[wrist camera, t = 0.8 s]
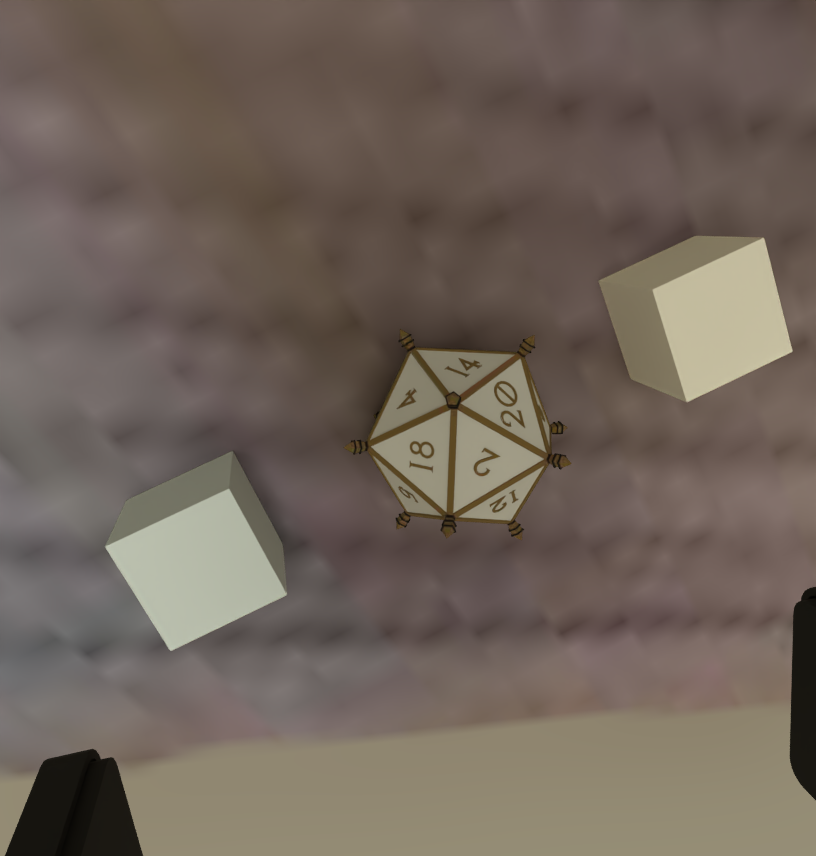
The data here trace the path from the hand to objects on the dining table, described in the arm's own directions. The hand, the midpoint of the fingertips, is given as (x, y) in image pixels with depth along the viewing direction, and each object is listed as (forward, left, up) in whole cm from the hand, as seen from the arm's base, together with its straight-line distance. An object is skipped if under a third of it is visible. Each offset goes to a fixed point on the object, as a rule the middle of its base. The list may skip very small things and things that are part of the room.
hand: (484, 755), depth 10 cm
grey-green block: (+7, +3, -24) cm, 26 cm away
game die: (-4, +3, -24) cm, 25 cm away
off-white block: (-16, +3, -24) cm, 29 cm away
